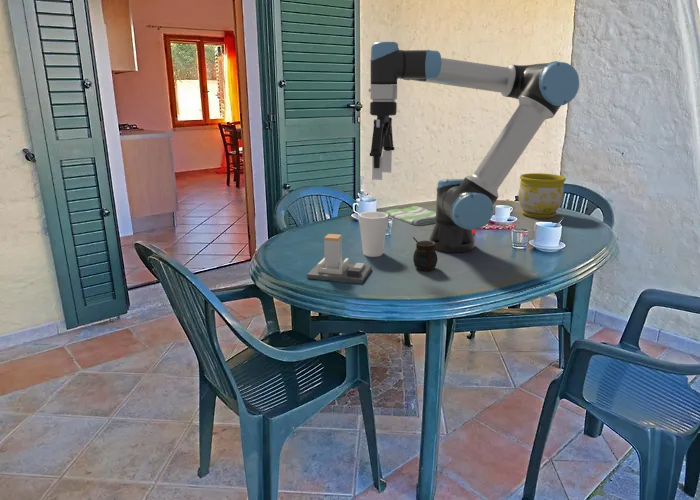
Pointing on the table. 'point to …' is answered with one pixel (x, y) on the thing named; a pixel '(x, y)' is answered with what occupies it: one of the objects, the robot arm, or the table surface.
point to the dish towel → (413, 215)
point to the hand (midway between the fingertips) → (382, 175)
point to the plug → (333, 251)
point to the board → (341, 272)
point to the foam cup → (373, 232)
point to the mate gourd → (425, 255)
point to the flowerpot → (540, 194)
